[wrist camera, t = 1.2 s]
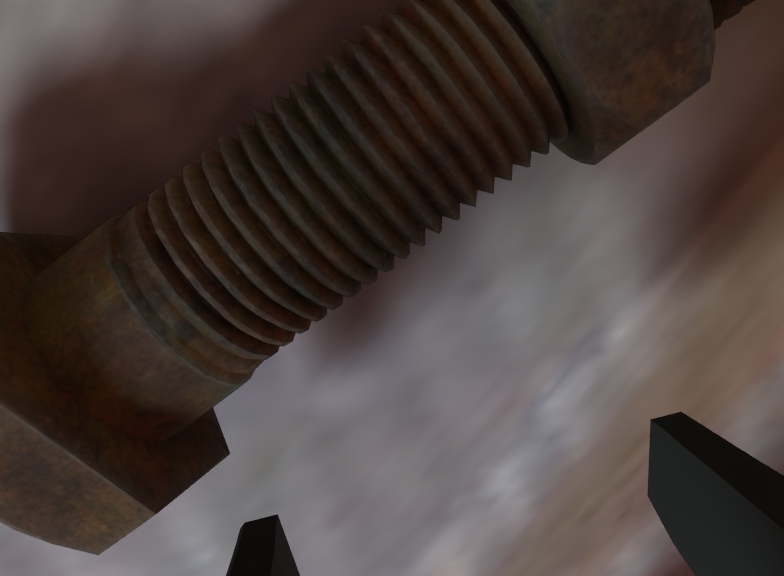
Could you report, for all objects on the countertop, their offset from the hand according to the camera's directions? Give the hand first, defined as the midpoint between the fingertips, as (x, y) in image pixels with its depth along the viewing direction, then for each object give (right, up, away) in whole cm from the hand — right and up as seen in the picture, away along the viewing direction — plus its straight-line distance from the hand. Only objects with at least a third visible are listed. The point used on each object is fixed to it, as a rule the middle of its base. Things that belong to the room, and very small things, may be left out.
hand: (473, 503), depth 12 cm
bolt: (-2, +8, 0) cm, 8 cm away
